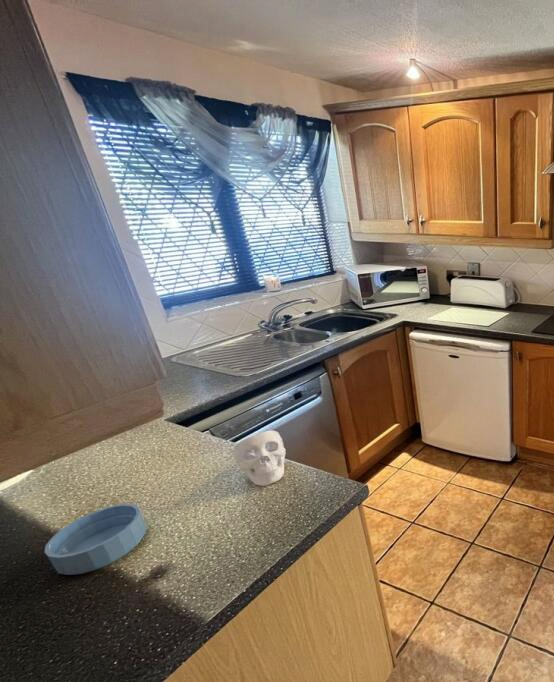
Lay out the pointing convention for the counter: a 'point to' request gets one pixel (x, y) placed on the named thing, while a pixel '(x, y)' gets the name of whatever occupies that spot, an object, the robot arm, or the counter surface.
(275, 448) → the skull bowl
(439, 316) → the counter surface
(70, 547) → the blue bowl
